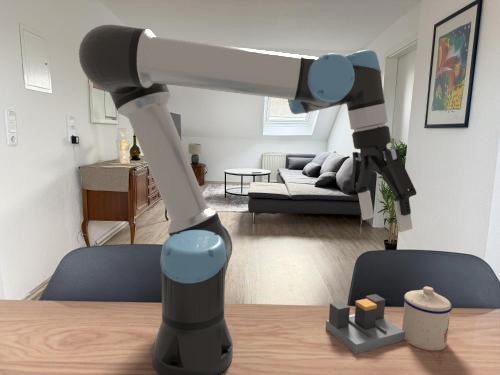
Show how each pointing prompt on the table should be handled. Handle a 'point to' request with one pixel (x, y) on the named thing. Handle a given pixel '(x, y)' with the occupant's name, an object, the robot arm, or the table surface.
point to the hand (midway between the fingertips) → (385, 223)
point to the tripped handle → (365, 313)
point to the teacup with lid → (426, 319)
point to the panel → (356, 335)
